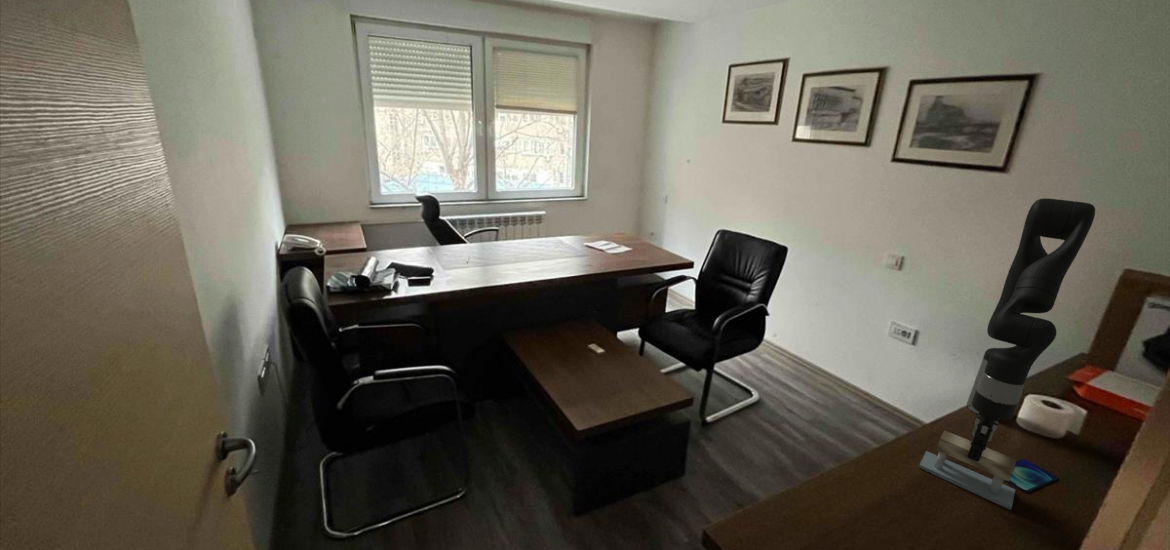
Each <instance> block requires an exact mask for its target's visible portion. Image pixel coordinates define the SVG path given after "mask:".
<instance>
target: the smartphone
mask: <svg viewBox="0 0 1170 550" xmlns="http://www.w3.org/2000/svg"><path fill="white" fill-rule="evenodd" d="M1058 479H1059V477H1058V476H1057V475H1056V474H1054V473H1052V472H1050V471H1048V470H1047V469H1044V468H1042V467H1041V466H1039V465H1037V464H1036V463H1033V462H1032V461H1029V460H1028V459H1025V458H1021V459H1019V460H1016V464H1015V467H1014V470H1013V473H1012V475H1011V478H1010V480H1009V481H1006V480H1004V481H1003V482H1005V483H1007V484H1008V485H1011V486H1012V487H1014V489H1017V490H1019V491H1021V492H1023V493H1025V494H1028V493H1031V492H1033V491H1035V490H1037V489H1040V488H1041V487H1044V486H1047V485H1049V484H1051V483H1053V482H1055V481H1058Z"/></svg>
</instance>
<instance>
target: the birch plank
mask: <svg viewBox="0 0 1170 550" xmlns="http://www.w3.org/2000/svg"><path fill="white" fill-rule="evenodd" d="M971 441H972V440H969V439H967V438H965V437H963V436H959V435H957V434H954V433H952V432H949V431H947V430H945V429H944V431H943V432H942V434H941V436H940V438H939V440H938V443H937V447H936V449H935V450H936V451H938V452H939V451H940V452H942V453H944V454H947V456H949V457H951V458H954V459H956V460H958V461H960V462H962V463H963V462H964V463H965V464H968V465H969V466H972V467H975V468H977V469H980V470H981V471H984V472H986V473H988V474H991V475H992V476H997V477H999V478H1002V479H1004V480H1006V481H1009V480H1010V478H1011V475H1012V473H1013V470H1014V467H1015V464H1016V461H1017V459H1016V458H1013V457H1011V456H1008V455H1006V454H1003V453H1001V452H999V451H997V450H993V449H991V448H989V447H986V449H985V450H984V451H983V452H982V455H981V457H980V460H979V461H974V460H972V459H970V458H968V453H969V450H970V448H971Z"/></svg>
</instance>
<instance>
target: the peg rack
mask: <svg viewBox="0 0 1170 550" xmlns="http://www.w3.org/2000/svg"><path fill="white" fill-rule="evenodd" d="M947 456H948V455H947V454H944V453H942V452H940V451H938V454H937V455H936V454H935V453H932V452H930V451H927V450H925V453H924V455H923V456H922V459H921V461H920V462H919V466H918V468H919V469H920V468H921V469H920V470H922V469H923V471H924V470H925V472H927V473H929V472H930V473H929V474H932V475H933V476H936V477H938V478H940V479H943V480H944V481H946V482H948V483H951V484H952V485H955V486H957V487H960V488H962V489H964V490H967V491H969V492H970V493H973V494H975V495H977V496H979V497H982V498H984V499H986V500H987V501H991V502H992V503H995V504H997V505H998V506H1001V507H1002V508H1006V509H1008V510H1010V511H1012V508H1013V504H1014V498H1015V492H1016V488H1012V487H1010V486H1008V485H1006V484H1004V482H1005V481H1004V479H1002V478H999V477H997V476H995V475H993V476H994V477H993V478H990V477H988V476H986V475H983V474H980V473H978V472H976V471H973V470H972V469H969V468H967V467H964V466H962V465H960V464H957V463H956V462H953V461H950V460H949V459H947Z"/></svg>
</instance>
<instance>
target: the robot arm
mask: <svg viewBox="0 0 1170 550" xmlns="http://www.w3.org/2000/svg"><path fill="white" fill-rule="evenodd" d="M1095 215H1096V207H1095V206H1094V204H1091V203H1088V202H1082V201H1076V200H1075V201H1074V200H1066V199H1056V198H1039V199H1037V200H1035V201H1034V202H1033V204H1032V205H1031V207H1030V208H1029V210H1028V212H1027V214H1026V218H1025V221H1024V223H1023V229H1022V233H1021V237H1020V240H1019V244H1018V248H1017V251H1016V253H1015V255H1014V259H1012V263H1011V265H1010V267H1009V270H1008V273H1007V275H1006V278H1005V282H1004V285H1003V288H1002V291H1001V295H1000V297H999V300H998V302H997V304H996V306H995V309H994V310H993V313H992V315H991V317H990V319H989V322H988V324H987V331H986V332H987V335H988V337H990V338H992V339H994V340H996V341H1001V342H1003V343H1008V344H1011V345H1014V346H1012V347H1011V346H1010V347H992V348H987V349H986V350H985V352H984V353H983V354H984V355H983V356H982V357H983V358H982V360H981V363H980V366H979V369H978V372H977V374H976V376H975V379H974V383H973V386H972V388H971V391H970V394H969V396H968V399H967V402H966V407H967V406H969V405H971V406H969V407H967V408H968V409H969V410H970V411H971V412H973V413H975V414H977V415H976V419H975V421H974V423H975V425H974V427H973V430H972V436H973V439H972V440H970V441H971V448H970V450H969V453H968V458H970V459H972V460H974V461H979V460H980V457H981V455H982V452H983V451H984V450H985V449H986V448H987V445H988V442H991V440H992V438H993V435H994V433H995V432H996V431H997V429H998V426H999V422H1000V420H1001V421H1009V420H1011V419H1012V418H1013V417H1014V414H1015V412H1016V410H1017V406H1018V404H1019V401H1020V400H1021V396H1022V393H1023V390H1024V389H1023V388H1024V385H1025V383H1026V380H1027V377H1028V375H1029V372H1030V370H1031V369H1032V366H1033V365H1034V364H1035V362H1036V360H1037V359H1038V358H1039V357H1040V355H1041V354H1043V353H1044V351H1045V350H1046V349H1048V348H1049V347H1050V346H1051V344H1052V343H1053V342H1054V340H1055V339H1056V337H1057V327H1056V325H1055V324H1054V323H1053V322H1052V321H1050V320H1048V319H1044V318H1040V317H1034V316H1032V315H1027V314H1045V313H1048V312H1050V311H1052V309H1053V308H1054V305H1055V303H1056V300H1057V297H1058V294H1059V292H1060V291H1059V290H1060V288H1061V286H1062V282H1063V281H1064V278H1065V276H1066V274H1067V273H1068V270H1069V269H1070V268H1071V266H1072V264H1073V263H1074V260H1075V259H1076V256H1077V255H1078V253H1079V251H1080V249H1081V248H1082V246H1083V244H1084V242H1085V239H1086V238H1087V236H1088V234H1089V231H1090V230H1091V227H1092V225H1093V222H1094V221H1095V220H1094V219H1095ZM1041 238H1046V239H1054V240H1060V241H1061V240H1062V241H1063V242H1062V243H1061V244H1060V245H1059V246H1058V247H1057V248H1056V249H1054V250H1053V251H1051V252H1050V253H1048V252H1047V251H1046V250H1045V248H1044V246H1043V244H1042V241H1041Z"/></svg>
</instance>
